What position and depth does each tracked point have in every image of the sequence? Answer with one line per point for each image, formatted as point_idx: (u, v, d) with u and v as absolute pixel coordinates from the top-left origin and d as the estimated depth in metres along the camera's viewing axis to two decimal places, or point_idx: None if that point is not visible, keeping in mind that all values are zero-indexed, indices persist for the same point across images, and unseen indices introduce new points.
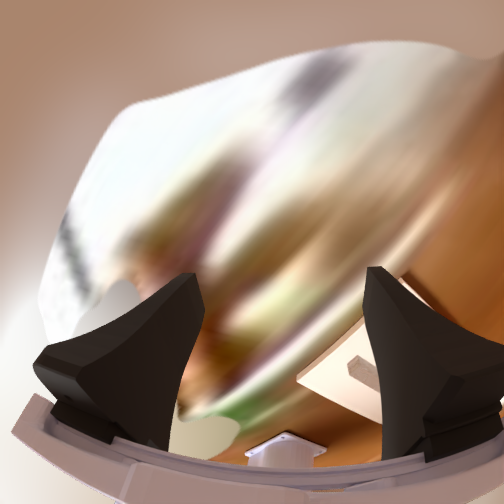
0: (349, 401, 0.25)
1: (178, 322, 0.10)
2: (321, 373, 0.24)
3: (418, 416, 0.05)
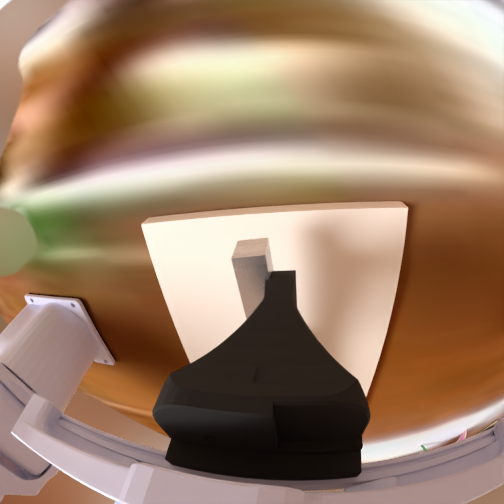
0: (186, 320, 0.17)
1: None
2: (184, 239, 0.14)
3: None
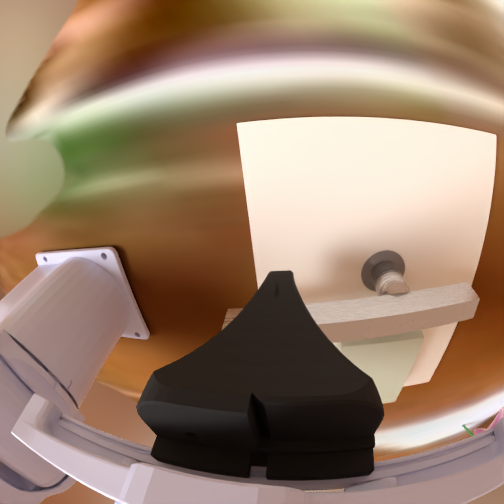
0: (273, 257, 0.14)
1: None
2: (293, 142, 0.11)
3: None
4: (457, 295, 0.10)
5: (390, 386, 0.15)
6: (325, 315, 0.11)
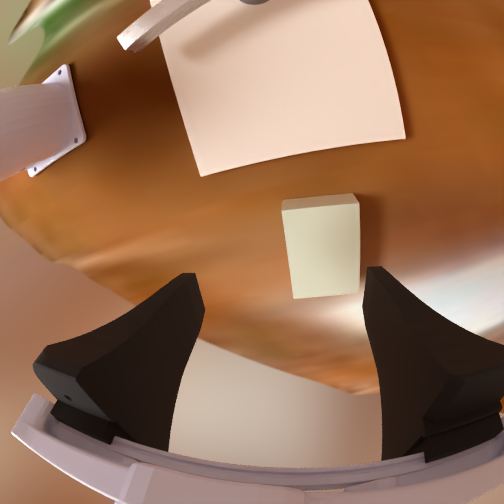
0: None
1: (178, 322, 0.10)
2: None
3: (418, 416, 0.05)
4: None
5: (346, 268, 0.19)
6: None
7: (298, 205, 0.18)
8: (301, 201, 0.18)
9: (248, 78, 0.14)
